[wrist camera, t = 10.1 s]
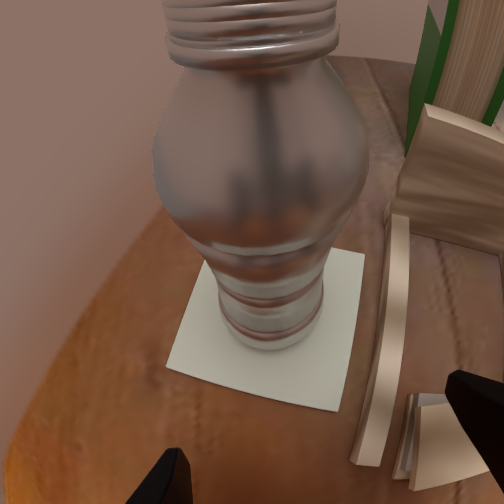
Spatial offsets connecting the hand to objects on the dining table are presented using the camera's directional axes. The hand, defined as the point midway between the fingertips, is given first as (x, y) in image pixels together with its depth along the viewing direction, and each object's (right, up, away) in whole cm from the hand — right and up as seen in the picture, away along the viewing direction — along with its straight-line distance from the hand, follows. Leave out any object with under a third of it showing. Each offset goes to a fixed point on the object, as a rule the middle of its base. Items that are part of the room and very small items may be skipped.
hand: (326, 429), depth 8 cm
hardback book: (+21, +21, +25) cm, 39 cm away
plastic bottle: (-1, +1, +14) cm, 14 cm away
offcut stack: (+12, -8, +8) cm, 17 cm away
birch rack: (+14, -1, +12) cm, 19 cm away
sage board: (-1, +1, +14) cm, 14 cm away
